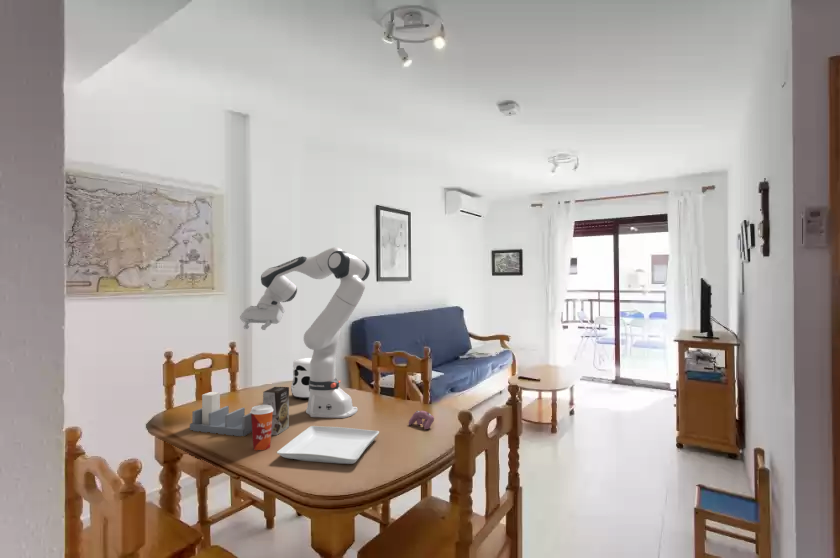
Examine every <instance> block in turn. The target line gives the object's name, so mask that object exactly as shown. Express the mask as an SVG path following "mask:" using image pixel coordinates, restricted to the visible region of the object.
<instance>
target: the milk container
mask: <svg viewBox="0 0 840 558" xmlns="http://www.w3.org/2000/svg"><path fill="white" fill-rule="evenodd" d="M311 359H312V357H304V358H298V359H294V361H293V365H292V368H293V369H292V373H293V374H292V376H293V377H292V382H291V385H290V386H291V387H290V392H291V395H292V396H293V397H294V398H296V399H302V400H306V399H307V400H309V393H310V392H309V380H310V361H311Z"/></svg>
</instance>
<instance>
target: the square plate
mask: <svg viewBox="0 0 840 558" xmlns="http://www.w3.org/2000/svg"><path fill="white" fill-rule="evenodd" d="M379 433H380V431H379V430H371V429H362V428H361V429H360V428H352V427H344V426H342V427H341V426H340V427H339V426H322V425H321V426H319V425H311V426H308V428H306V429H304V430H303V431H302V432H300V433H299V434H298V435H297V436H295V437H294V438H293V439H291V440H290V441H289V442H287V443H286V444H285V445H284V446H282V447H281V448H280V449H279V450H277V452H276V454H277V455H279V456H281V457H283V458H285V459H291V460H293V459H294V460H298V461H305V462H317V463H329V464H337V465H338V464H340V465H341V464H345V465H346V464H347V465H349V464H351V465H352V464H355V463H356V462H357V461H358V460H359V459H360V457H361V456H362V454H363V453H364V452H365V450H366V449H367V448H368V447H369V446H370V445H371V444H372V443H373V441H374V440H375V439H376V438H377V437H378V436H379Z"/></svg>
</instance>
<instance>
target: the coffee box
mask: <svg viewBox="0 0 840 558" xmlns="http://www.w3.org/2000/svg"><path fill="white" fill-rule="evenodd" d="M262 394H263V395H262V405H271V406H272V408H273V409H274V411H273V414H272V430H271V436H278V435H279V434H281V433H283V432H284V431H286V430H287V429H289V427H290V426H289V425H290V424H289V423H290V387H289V386H274V387H271V388H269V389H267V390H264V391H262Z"/></svg>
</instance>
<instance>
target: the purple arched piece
mask: <svg viewBox="0 0 840 558" xmlns="http://www.w3.org/2000/svg"><path fill="white" fill-rule="evenodd" d="M423 419H424V420H423ZM434 421H435V417H434V416H433V415H432V414H431V413H430V412H429V411H425V410H416V411H415V412H414V413H413V414H412V416H411V417H410V419H409V420H408V425H409V426H412V425H414V424H415V423H416V424H417V425H418V426H421V425H420V424H422V427H424V430H425V429H428V430H429V429H430V428H431V426H432V425H433V423H434ZM411 424H412V425H411Z"/></svg>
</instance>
